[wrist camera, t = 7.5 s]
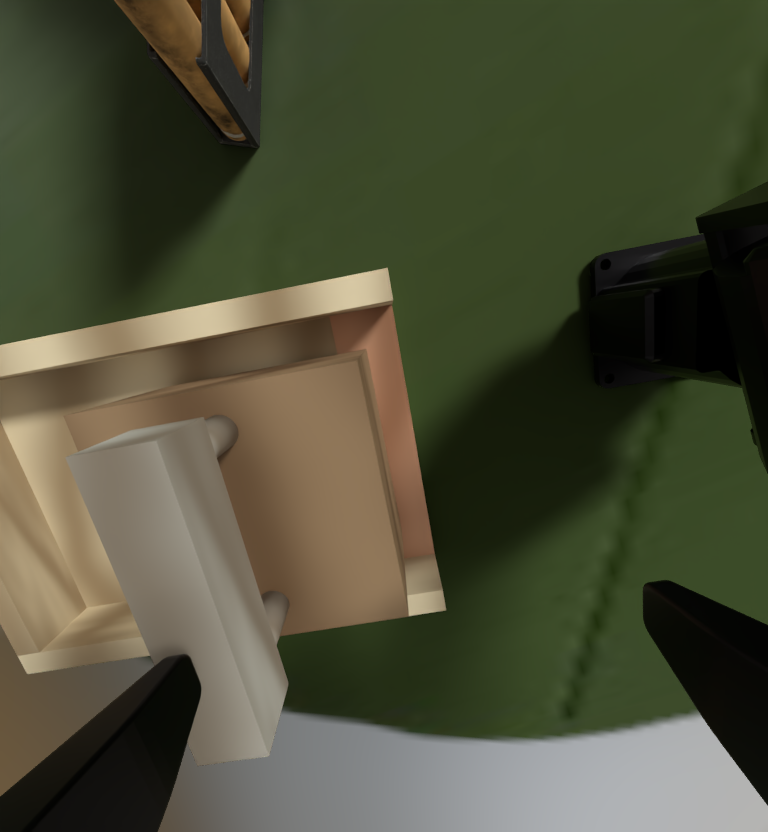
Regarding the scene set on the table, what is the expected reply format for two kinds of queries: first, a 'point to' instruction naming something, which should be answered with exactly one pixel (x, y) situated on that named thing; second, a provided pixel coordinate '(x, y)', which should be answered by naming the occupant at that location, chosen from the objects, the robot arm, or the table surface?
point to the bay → (143, 372)
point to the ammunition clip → (208, 59)
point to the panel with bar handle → (245, 526)
